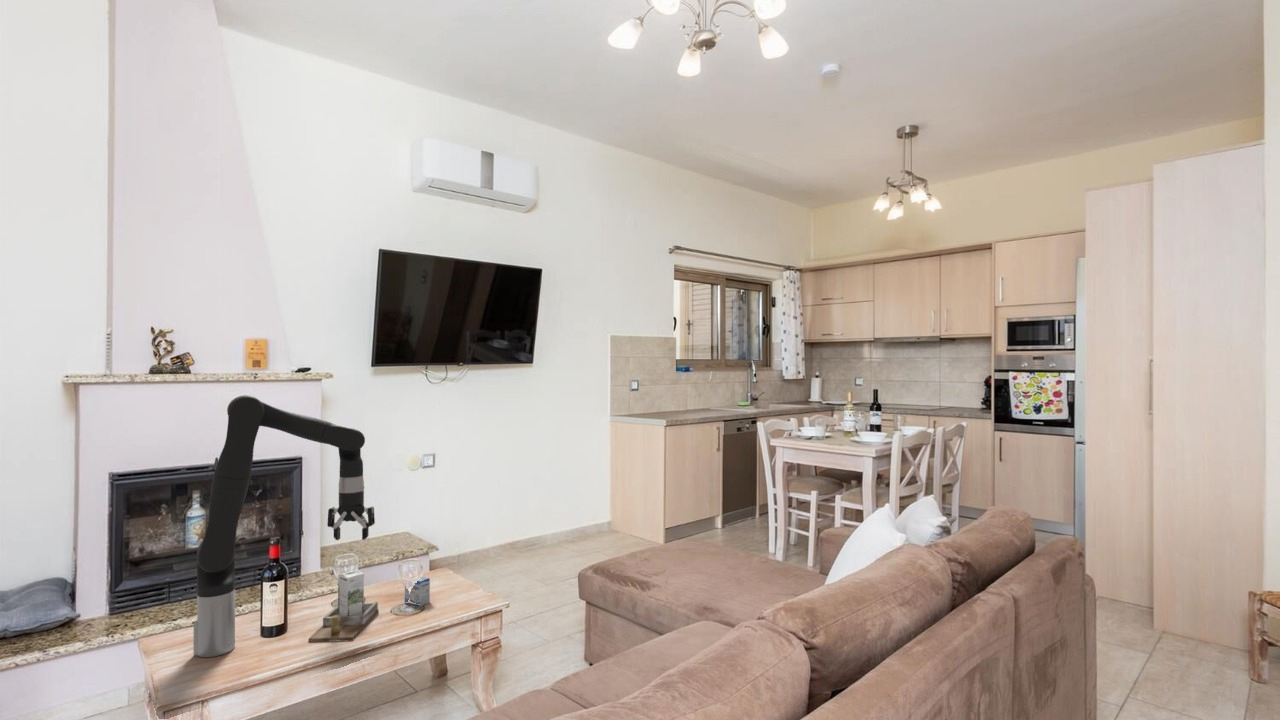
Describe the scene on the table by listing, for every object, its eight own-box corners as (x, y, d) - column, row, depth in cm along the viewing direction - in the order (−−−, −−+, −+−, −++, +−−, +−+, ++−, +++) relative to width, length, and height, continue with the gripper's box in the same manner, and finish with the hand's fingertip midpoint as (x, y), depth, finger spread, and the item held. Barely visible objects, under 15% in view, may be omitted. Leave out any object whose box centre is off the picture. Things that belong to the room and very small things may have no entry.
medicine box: (404, 602, 220) (404, 578, 221) (414, 598, 224) (414, 574, 224) (420, 606, 217) (420, 581, 217) (430, 602, 221) (430, 577, 221)
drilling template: (308, 641, 189) (308, 622, 189) (339, 613, 211) (339, 595, 211) (352, 640, 190) (352, 620, 190) (378, 612, 212) (378, 594, 212)
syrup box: (354, 612, 209) (354, 569, 209) (364, 616, 206) (364, 572, 206) (337, 618, 204) (337, 574, 204) (347, 622, 201) (347, 577, 201)
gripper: (324, 492, 202) (323, 543, 201) (369, 491, 202) (369, 542, 202) (334, 488, 209) (333, 536, 209) (377, 487, 210) (377, 535, 210)
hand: (351, 539), depth 205 cm, fingers open, 8 cm apart
